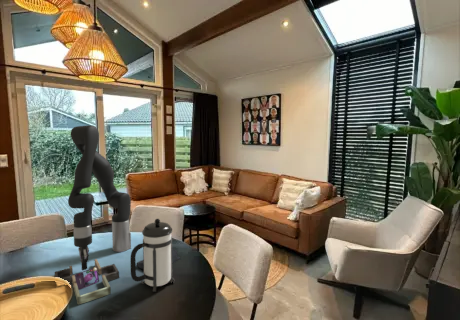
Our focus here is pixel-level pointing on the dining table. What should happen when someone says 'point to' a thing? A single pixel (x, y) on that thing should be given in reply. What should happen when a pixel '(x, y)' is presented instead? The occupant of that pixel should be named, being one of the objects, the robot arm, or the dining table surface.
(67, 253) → the dining table surface
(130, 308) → the dining table surface
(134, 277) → the coffee press
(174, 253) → the dark slate chunk
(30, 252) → the dining table surface
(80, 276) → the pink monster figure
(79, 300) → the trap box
